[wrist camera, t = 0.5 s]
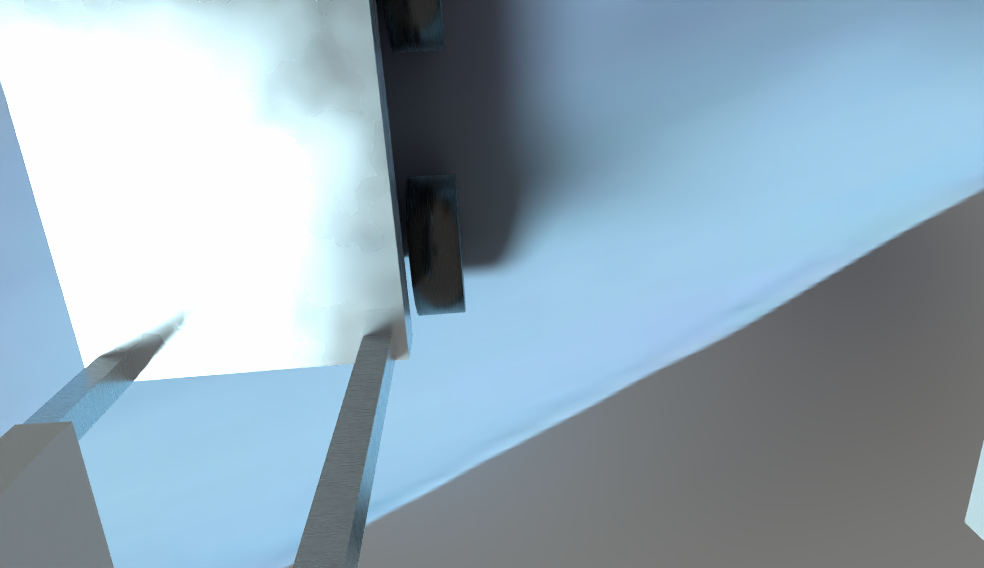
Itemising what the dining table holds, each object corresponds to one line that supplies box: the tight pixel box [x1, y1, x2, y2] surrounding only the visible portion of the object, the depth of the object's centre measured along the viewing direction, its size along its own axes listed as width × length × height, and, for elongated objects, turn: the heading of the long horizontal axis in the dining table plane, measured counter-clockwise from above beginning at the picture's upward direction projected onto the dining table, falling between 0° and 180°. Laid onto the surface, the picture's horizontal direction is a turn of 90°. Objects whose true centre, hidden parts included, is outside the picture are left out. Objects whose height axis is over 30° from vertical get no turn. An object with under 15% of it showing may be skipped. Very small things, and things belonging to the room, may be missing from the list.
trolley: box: [0, 0, 465, 568], centre depth 20 cm, size 17×15×22 cm
